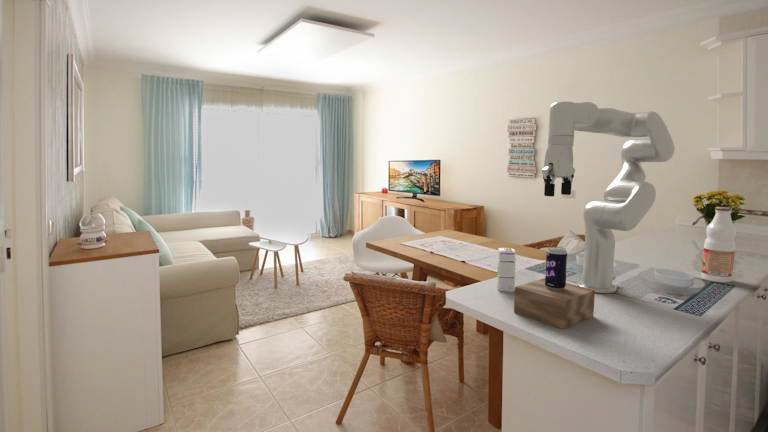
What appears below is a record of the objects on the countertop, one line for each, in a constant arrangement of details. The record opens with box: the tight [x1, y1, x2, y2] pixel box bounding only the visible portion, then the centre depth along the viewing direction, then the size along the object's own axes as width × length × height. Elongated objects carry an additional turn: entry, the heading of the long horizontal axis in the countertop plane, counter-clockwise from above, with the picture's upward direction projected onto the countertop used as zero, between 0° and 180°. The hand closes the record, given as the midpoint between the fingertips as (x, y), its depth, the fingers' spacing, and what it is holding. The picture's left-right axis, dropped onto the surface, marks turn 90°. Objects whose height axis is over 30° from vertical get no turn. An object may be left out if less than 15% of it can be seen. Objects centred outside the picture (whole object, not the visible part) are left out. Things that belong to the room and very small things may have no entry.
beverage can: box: [544, 246, 568, 290], centre depth 124 cm, size 6×6×12 cm
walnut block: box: [513, 277, 596, 330], centre depth 125 cm, size 16×16×8 cm
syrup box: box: [496, 247, 516, 293], centre depth 149 cm, size 6×6×14 cm
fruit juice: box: [700, 206, 738, 284], centre depth 160 cm, size 9×9×28 cm
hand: (557, 195), depth 136 cm, fingers open, 9 cm apart
